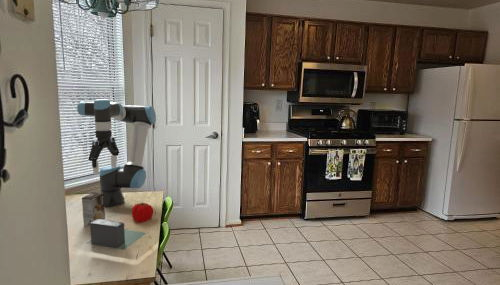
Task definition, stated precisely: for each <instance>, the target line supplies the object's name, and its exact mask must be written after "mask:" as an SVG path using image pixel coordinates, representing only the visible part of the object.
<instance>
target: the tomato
mask: <svg viewBox="0 0 500 285" xmlns="http://www.w3.org/2000/svg"><path fill="white" fill-rule="evenodd" d="M153 214H154V208H153V206H152V205H151V204H149V203H146V202H143V201H142V202H140V203H135V204H134V205H133V206H132V209H131V217H132V219H133V220H134V222H136V223H144V222H147V221H150V220H151V219H152V217H153Z"/></svg>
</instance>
